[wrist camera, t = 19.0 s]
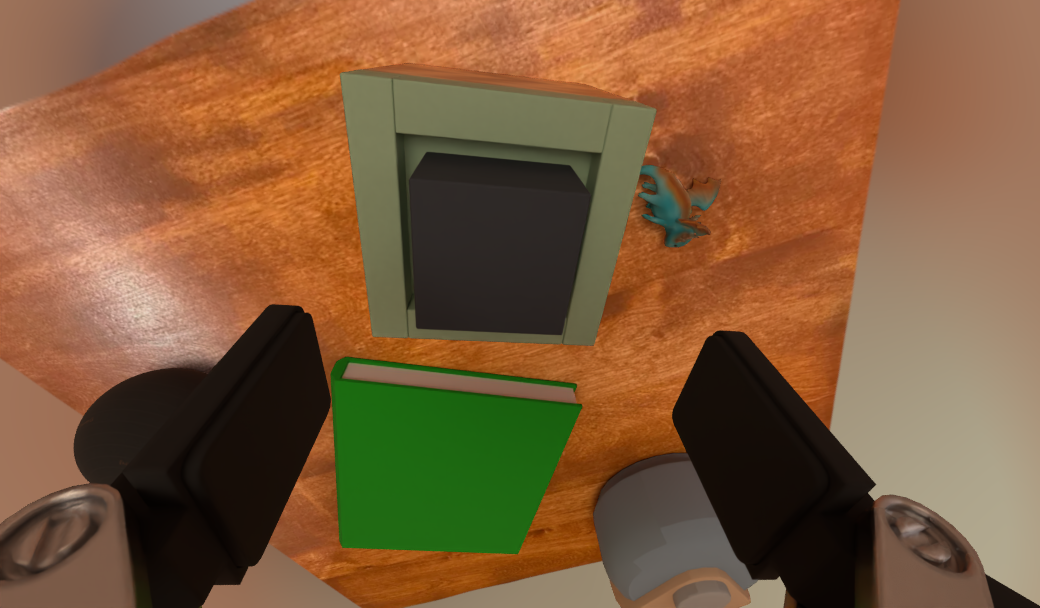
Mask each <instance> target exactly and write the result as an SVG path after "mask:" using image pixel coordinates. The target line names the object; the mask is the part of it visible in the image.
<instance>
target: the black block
mask: <svg viewBox="0 0 1040 608" xmlns="http://www.w3.org/2000/svg"><path fill="white" fill-rule="evenodd" d="M409 194H410V215H411V236H412V257H413V277H414V298H415V319H416V328H417V329H430V330H452V331H474V332H497V333H519V334H541V335H562V334H563V329H564V324H565V320H566V315H567V310H568V305H569V300H570V296H571V291H572V286H573V281H574V276H575V271H576V267H577V262H578V257H579V252H580V247H581V242H582V238H583V233H584V228H585V223H586V218H587V214H588V209H589V204H590V199H591V194H590V192H589V191H588V189H587V188H586V187H585V185H584V184H583V182H582V181H581V180H580V178H579V177H578V175H577V174H576V173H575V171H574V170H573V168H572V167H571V166H570V165H563V164H552V163H542V162H531V161H521V160H511V159H500V158H490V157H479V156H469V155H458V154H448V153H437V152H426V153H425V155H424V156H423V158H422V159H421V161H420V162H419V164H418V166H417V167H416V169H415V170H414V172H413V174H412V175H411V177H410V179H409Z"/></svg>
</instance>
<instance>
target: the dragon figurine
mask: <svg viewBox="0 0 1040 608" xmlns="http://www.w3.org/2000/svg"><path fill="white" fill-rule="evenodd" d="M641 174H645V175H649V176H651V177H652V178H653V179H654V181H655V183H656V184H651V183H647V182H644V183H645V184H643V185H642V186H643V188H648V189H650V190H652V191H654V192H656V195H649V194H647V193H644V192H641V193H639V195H638V196H639V197H640V198H643V199H645V200H646V201H648V202H650V203H648V204H647V206H646V207H647V208H649V209H651V211H652V214H653V215H654V217H651V216H650V215H648V214H643V215H642V217H644V218H645V219H648V220H649V221H651V222H654V223H656V224H659V225H662V226H664V228H665V231H666V235H665V237H664V244H665V246H667V247H681V246H684V245H686V244H687V243H688V242H690V241H691V239H692V238H699V237H698V236H703V235H707V234H708V235H710V234H711V232H710V230H709V229H708V228H707V227H706V226H704V225H702V224H701V222H695V221H696V220H698V219H697V218H698V217H700V216H701V215H695V216H694V217H693V216H692V218H689V216H690V214H691V213H692V210H691V208H692V207H691V206H697V207H699V208H700V209H702V210H704V211H705V210H707V209H708V208H709V206H710V205H711V204H712V203H713V201H714V200H715V198H716V196H717V194H718V192H719V188H720V184H721V179H720V180H714V179H711V178H709V177H708V182H707V183H706V184H703V183H700V182H698V181H697V180H695V179H693V182H694V185H693V187H692V188H691V189H687V191H686V190H685V188H684V187H683V185H682V184H681V181H680V180H679V179H678V178H677V177H676V175H675V174H674V173H672V172H669V171H668V170H666V169H664V168H662V167H657V166H653V165H645V166H642V167H641V171H640V175H641ZM694 233H696V235H694Z"/></svg>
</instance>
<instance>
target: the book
mask: <svg viewBox="0 0 1040 608" xmlns="http://www.w3.org/2000/svg"><path fill="white" fill-rule="evenodd" d="M576 387H577V385H576V384H574V383H565V382H557V381H548V380H540V379H531V378H523V377H514V376H506V375H497V374H488V373H480V372H471V371H463V370H454V369H446V368H437V367H429V366H420V365H412V364H403V363H395V362H386V361H378V360H369V359H360V358H352V357H344V358H342V359H340V360H338V361H337V362H336V364H335V366H334V368H333V370H332V372H331V391H332V410H333V429H334V448H335V467H336V485H337V504H338V523H339V541H340V543H341V546H342V548H365V549H392V550H419V551H446V552H473V553H500V554H518V553H519V551H520V549H521V546H522V544H523V542H524V539H525V537H526V535H527V533H528V530H529V528H530V526H531V523H532V521H533V519H534V516H535V514H536V512H537V510H538V507H539V505H540V503H541V500H542V498H543V496H544V494H545V491H546V489H547V487H548V484H549V482H550V480H551V477H552V475H553V473H554V471H555V468H556V466H557V464H558V461H559V459H560V457H561V455H562V452H563V450H564V448H565V445H566V443H567V441H568V438H569V436H570V434H571V432H572V429H573V427H574V425H575V422H576V420H577V418H578V416H579V413H580V411H581V409H582V404H577V403H576V399H575V395H574V392H575V390H576Z"/></svg>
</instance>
